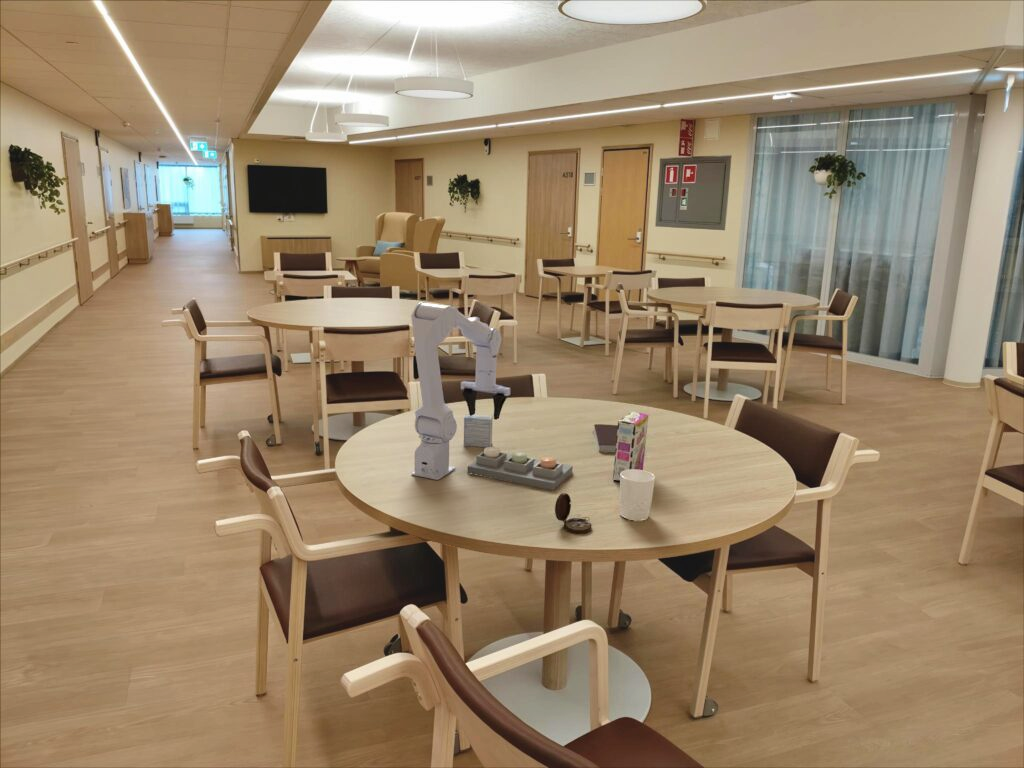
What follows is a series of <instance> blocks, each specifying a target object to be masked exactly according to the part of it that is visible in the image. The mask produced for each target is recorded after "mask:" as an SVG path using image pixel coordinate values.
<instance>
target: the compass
mask: <svg viewBox="0 0 1024 768" xmlns="http://www.w3.org/2000/svg"><path fill="white" fill-rule="evenodd" d="M571 502H572V500H571V497H570V495H569V493H565V492H562V493H560V494H559V496H558V497H557V499H556V502H555V505H554V514H555V518H556V519H557V520H558V521H560V522H563V528H564V529H565V530H566V531H567V532H569V533H572V534H577V533H579V534H586V533H589V532H590V531H592V528H593V527H592V524H591V522H590V520H591V518H590V517H588V516H583V517H581V518H580V517H573V518H569V519H568V517H569V515H570V514H571V509H572V504H571ZM579 534H578V535H579Z"/></svg>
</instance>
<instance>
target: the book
mask: <svg viewBox="0 0 1024 768" xmlns="http://www.w3.org/2000/svg"><path fill="white" fill-rule="evenodd" d="M593 426H594V429H593V431H592V435H593V437H594V440H595V443H596V447H598V448H597V452H598V451H599V452H598V453H608V452H615V451H616V440H617V429H618V424H598V423H595V424H594V425H593Z"/></svg>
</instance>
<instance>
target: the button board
mask: <svg viewBox="0 0 1024 768" xmlns="http://www.w3.org/2000/svg"><path fill="white" fill-rule="evenodd" d="M573 467H574V466H573V465H570V464H563V463H561V462H556V468H555V469H553V470H551V469H546V468H541V467H540V459H538V458H535V457H529V456H527V463H525V464H520V463H515V462H512V453H506V452H501V451H499V457H498V458H497V459H494V458H488V457H484V451H482V452H481V453H479V454H478V455H476V459H475V460H474V461H473V462H472V463H470V464H469V465H467V474H469V473H472V474H471V475H474V474H477V475H476V476H478V475H482V476H481V477H483V476H486V477H485V478H488V477H491V478H490V479H493V478H495V480H498V479H499V481H503V480H504V482H508V481H509V482H508V483H513V482H514V484H518V483H519V484H518V485H523V486H528V485H529V487H533V486H534V488H538V487H539V488H538V489H544V490H547V491H548V490H549V491H554V490H555V489H557V488H558V487H559V486H560V485H561V484H562V483H564V481H565V480H566V479H567V478H569V476H570V474H571V473H572V474H573ZM572 474H571V475H572Z"/></svg>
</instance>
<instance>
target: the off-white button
mask: <svg viewBox="0 0 1024 768" xmlns="http://www.w3.org/2000/svg"><path fill="white" fill-rule="evenodd" d="M483 449H484V450H483V452H484V457H488V458H494V459H497V458H498V457H499V452H500V448H498V447H496V446H491V447H484V448H483Z"/></svg>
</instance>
